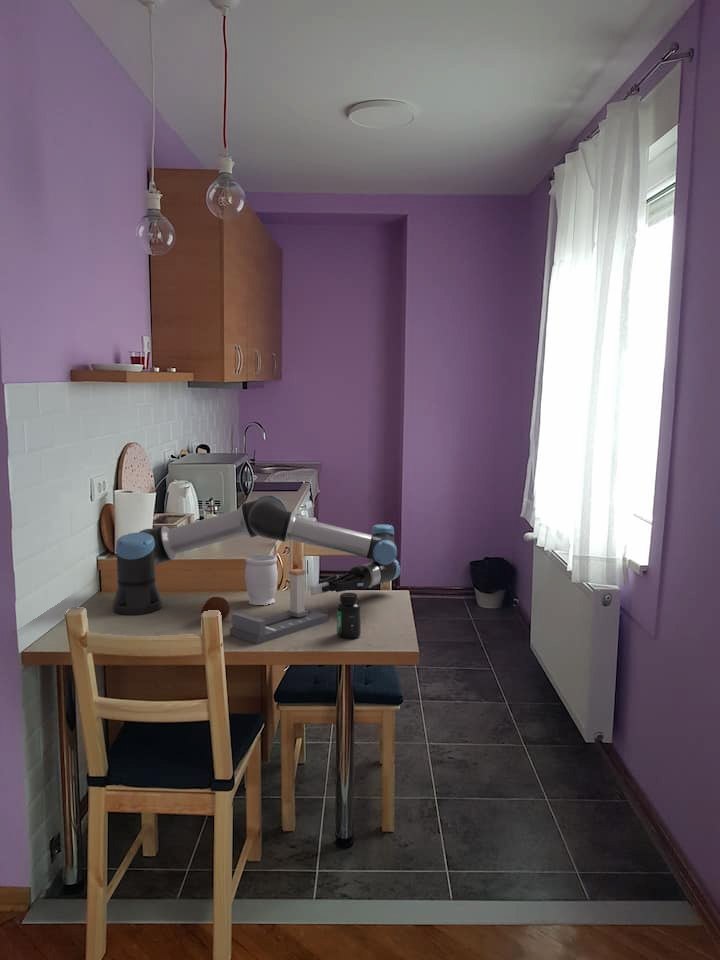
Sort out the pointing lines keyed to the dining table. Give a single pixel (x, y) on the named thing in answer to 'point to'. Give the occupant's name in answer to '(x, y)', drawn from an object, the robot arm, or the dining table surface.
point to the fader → (297, 593)
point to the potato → (217, 606)
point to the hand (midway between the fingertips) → (312, 590)
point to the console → (272, 625)
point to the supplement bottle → (348, 617)
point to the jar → (261, 579)
